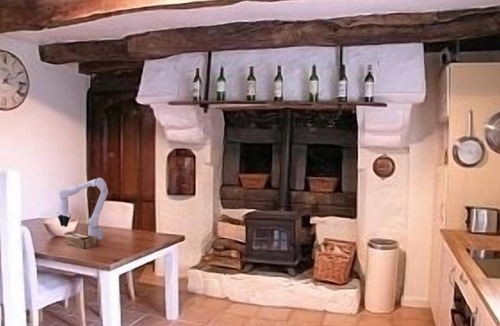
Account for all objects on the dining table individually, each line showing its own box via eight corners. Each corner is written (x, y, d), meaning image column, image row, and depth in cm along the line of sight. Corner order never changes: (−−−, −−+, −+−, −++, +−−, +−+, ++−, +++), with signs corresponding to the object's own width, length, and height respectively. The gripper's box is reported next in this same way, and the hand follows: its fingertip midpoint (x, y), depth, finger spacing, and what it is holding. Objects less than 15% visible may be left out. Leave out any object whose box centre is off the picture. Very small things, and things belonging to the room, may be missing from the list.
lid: (74, 234, 333) (74, 230, 333) (88, 237, 324) (88, 233, 324) (62, 236, 325) (62, 233, 325) (76, 239, 316) (76, 236, 316)
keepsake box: (81, 241, 330) (81, 233, 330) (98, 245, 320) (97, 237, 319) (67, 244, 321) (67, 236, 321) (83, 248, 311) (83, 240, 310)
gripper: (52, 206, 332) (53, 225, 333) (65, 208, 323) (65, 228, 324) (61, 205, 337) (62, 224, 338) (74, 207, 329) (74, 226, 330)
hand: (64, 226), depth 332 cm, fingers open, 3 cm apart
